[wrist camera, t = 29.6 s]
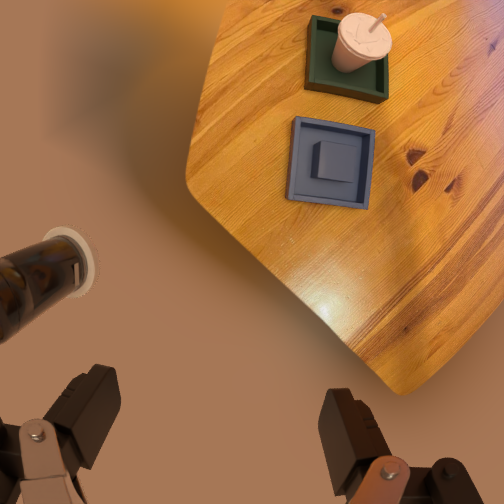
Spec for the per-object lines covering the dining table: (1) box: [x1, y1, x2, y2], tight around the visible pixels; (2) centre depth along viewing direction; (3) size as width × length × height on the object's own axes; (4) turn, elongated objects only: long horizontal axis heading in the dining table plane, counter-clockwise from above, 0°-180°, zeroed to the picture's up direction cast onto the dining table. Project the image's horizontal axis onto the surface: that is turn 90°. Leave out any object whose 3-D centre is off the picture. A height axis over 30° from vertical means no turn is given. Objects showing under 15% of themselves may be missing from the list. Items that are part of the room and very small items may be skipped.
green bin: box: [304, 15, 389, 104], centre depth 32 cm, size 11×11×4 cm
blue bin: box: [285, 116, 375, 210], centre depth 36 cm, size 10×10×4 cm
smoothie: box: [331, 13, 392, 73], centre depth 27 cm, size 6×6×14 cm
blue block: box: [311, 140, 357, 183], centre depth 35 cm, size 4×4×4 cm
